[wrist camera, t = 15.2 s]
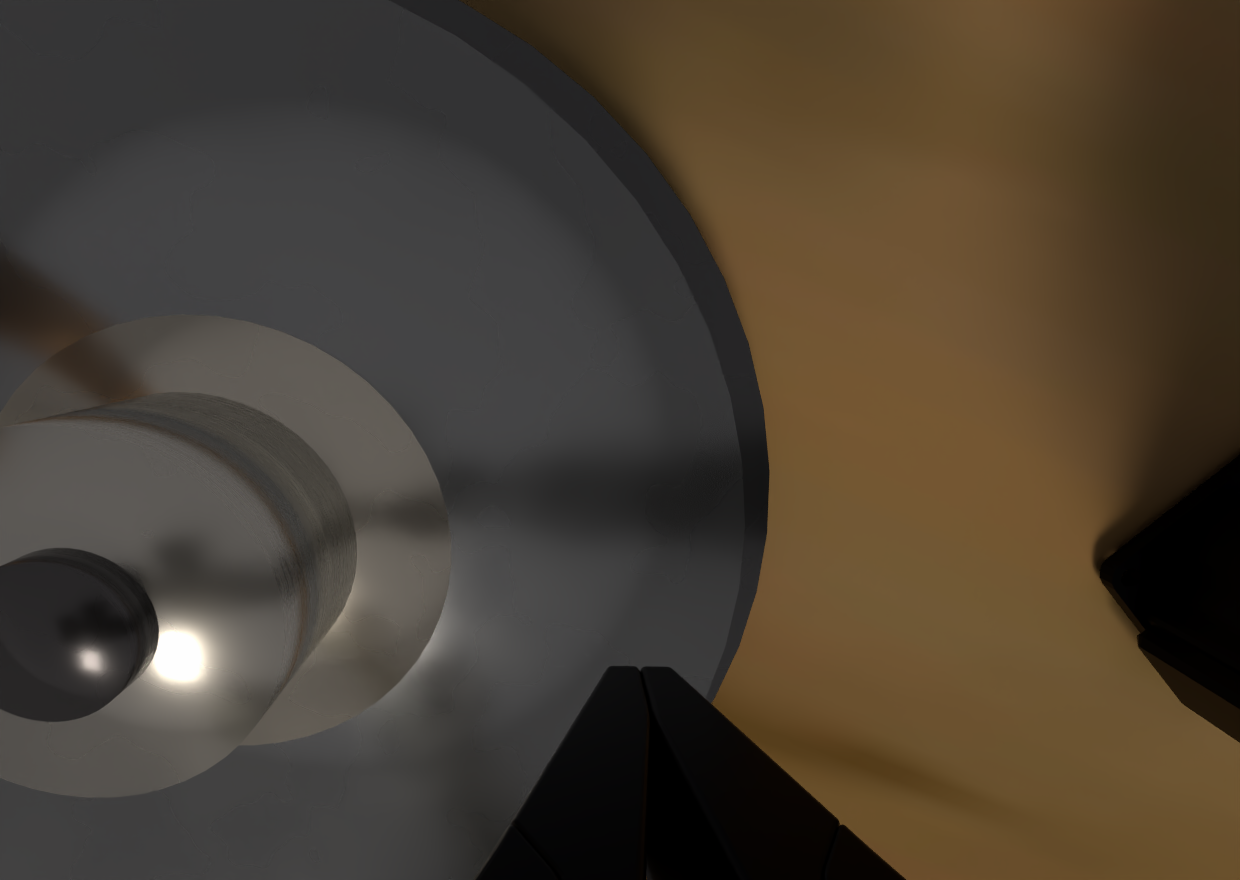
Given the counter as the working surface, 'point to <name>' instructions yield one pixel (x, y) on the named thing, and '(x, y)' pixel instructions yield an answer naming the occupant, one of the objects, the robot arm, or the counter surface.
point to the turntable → (369, 405)
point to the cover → (157, 587)
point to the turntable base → (681, 239)
